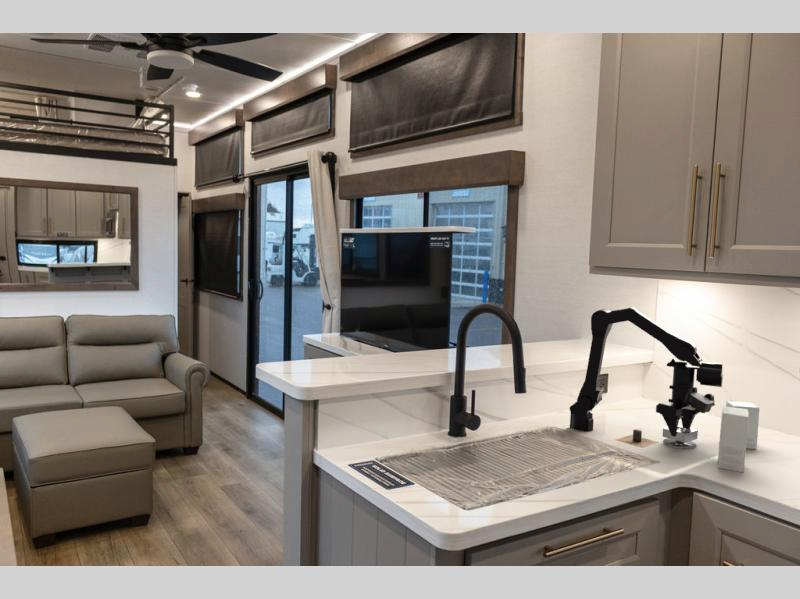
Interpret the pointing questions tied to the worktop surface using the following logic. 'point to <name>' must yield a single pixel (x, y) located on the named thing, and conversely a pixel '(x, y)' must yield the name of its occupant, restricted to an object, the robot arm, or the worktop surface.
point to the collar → (681, 434)
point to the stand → (637, 439)
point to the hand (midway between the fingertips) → (679, 434)
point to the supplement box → (753, 421)
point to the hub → (679, 443)
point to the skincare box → (733, 438)
